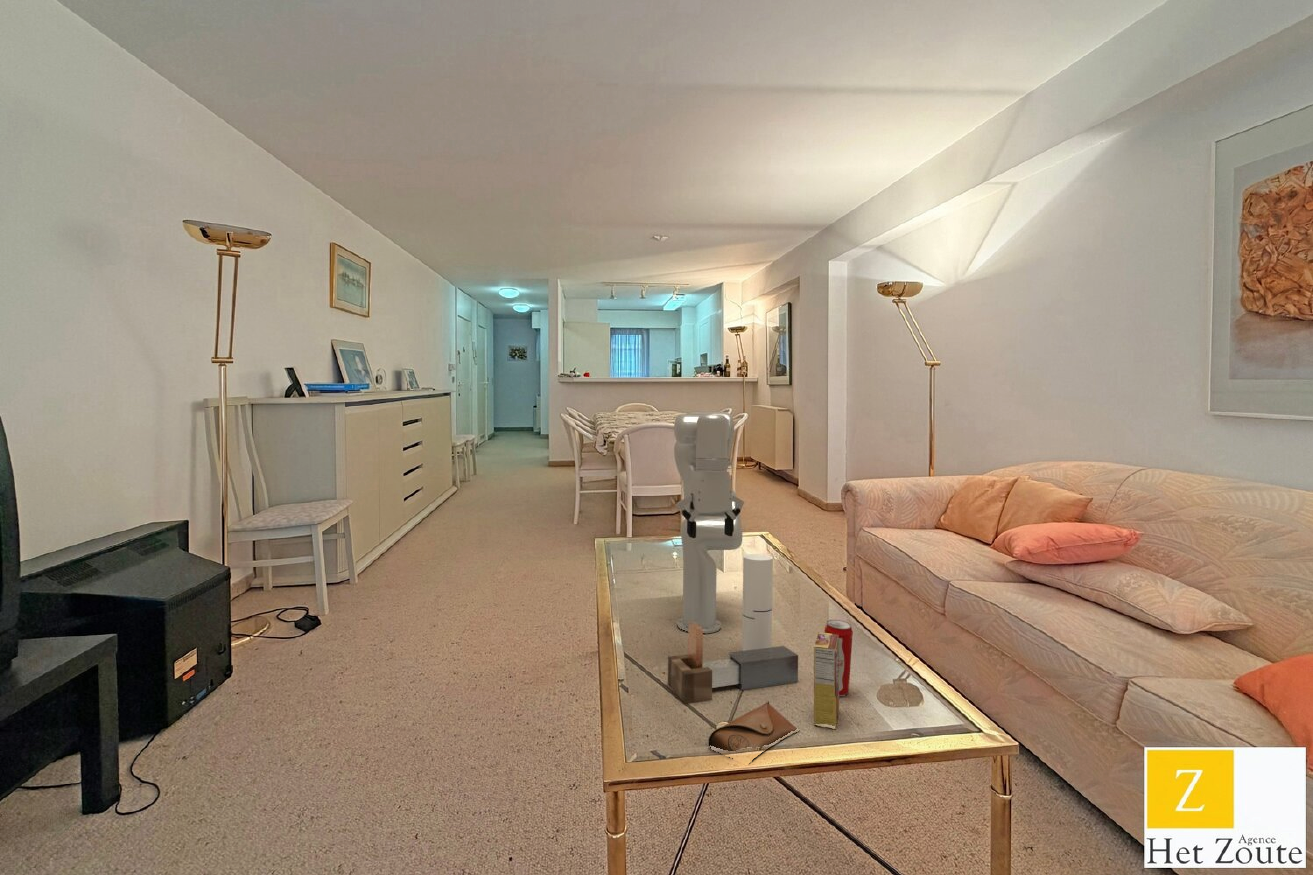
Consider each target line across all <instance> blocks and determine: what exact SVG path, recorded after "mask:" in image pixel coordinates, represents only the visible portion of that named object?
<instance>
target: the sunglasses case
mask: <svg viewBox="0 0 1313 875" xmlns="http://www.w3.org/2000/svg"><path fill="white" fill-rule="evenodd" d="M797 728H798V727H796V726H795V725H793V724H792V723H791V722H790V721H789V720H788V719H787V718H785V717H784V715H782V714H781V713H780V712H779V711H778V710H777V709H775V708H774V707H773V706H772V704H770V701H768V700H767V702H765V703H764V704H762V705H761V706H758V707H756V708H754V709H752V710H750V711H748V712H746V713H744V714H743V715H741V716H738V717H736V718H735V719H733V720H732V721H730V722H728V723H727V724H725V725H724V726H721V727H718V728H716V729H714V731H712V732H711V734H710V735H709V737H708V747H709V746H710V745H711V746H714V747H716V748H720V749H723V750H728V751H736V750H739V749H741V748H747V747H752V748H756V747H762V746H764V745H769V744H771V743H773V742H775V741H776V740H778V739H779V738H782V737H783V736H785V735H787V734H788V733H790V732H791V731H795V730H796V729H797Z"/></svg>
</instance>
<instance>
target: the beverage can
mask: <svg viewBox="0 0 1313 875" xmlns="http://www.w3.org/2000/svg"><path fill="white" fill-rule="evenodd" d="M823 633H830V634H837V635H838V646H839V696H842V697H845V695H846V694H847V695H848V694H849V691H850V680H851V679H850V677H851V676H850V675H851V664H852V651H853V650H852V649H853V633H854V632H853V629H852V625H851V623H850V622H847V621H845V620H841V619H829V620H827V621H826V624H825V627H824V631H823ZM847 695H846V696H847Z"/></svg>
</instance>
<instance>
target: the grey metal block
mask: <svg viewBox="0 0 1313 875" xmlns="http://www.w3.org/2000/svg"><path fill="white" fill-rule="evenodd" d="M733 658H734V659H735V660H736V661H737V662H739V663H740V664H741V684H735V686H736V687H737V688H739V689H740V690H741V691H746V690H753V689H754V690H755V689H759V688H767V687H773V686H774V687H775V686H780V685H787V684H794V683H798V682H799V681H798V680H799V654H798V653H796V652H794V651H792V650H791V649H789V648H788V647H786V646H784V645H782V646H781V645H779V646H774V647H771V648H763V649H755V650H747V651H742V650H740V651H731V652H729V658H728V659H733Z"/></svg>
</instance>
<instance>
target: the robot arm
mask: <svg viewBox="0 0 1313 875" xmlns="http://www.w3.org/2000/svg"><path fill="white" fill-rule="evenodd" d="M673 432H674V437H675V440H676V441H675V443H674V448H673V454H674V455H673V456H674V462H675V466H676V469H677V472H678V473H679V476H680V478H681V480H682V488H683V499H681V500H679V501H677V503H676V506H677V508H678V510H679V513H680V514H681V515H682V516H683V518H684V519H683V520H682V522H681V524H680V538H681V539H680V540H681V546H682V560H683V563H682V564H683V565H682V572H683V573H682V577H683V578H682V609H681V610H682V617H681V618H679V619H678V620H677V622H676V626H677V625H678V627H679V628H680V629H679V628H678V627H677V628H678V629H679V630H681V629H682V630H681V631H683V630H686V631H689V623H693V622H696V623H697V624H698V625H700V626H701V627H702V628H703V633H705V634H711V633H712V634H713V633H715V632H716V633H717V632H718V631H719V629H720V628H722V622H721V621H720V620H719V619H717V565H716V564H717V563H716V561H715V559H713V557H712V556H711V555H710V554H709V553H708V551H732V550H733V551H734V550H737V549H739V548H740V547H741V546H742V543H743V527H742V519H741V510H742V508H743V506H744V504H745V501H743V500H742V499H740V498H738V496H737V493H736V492H735V491H734V490H733V486H732V480H731V474H730V471H728V470H729V467H732V466H733V462H732V461H730V460H729V458H730V455H731V451H732V446H733V442H734V436H735V435H734V434H735V420H734V418H733V416H732V414H730V413H729V412H727V411H702V410H701V411H695V412H691V413H690V412H689V413H680V414H677V416H676V418H675V420H674V424H673ZM720 630H721V629H720ZM686 631H685V632H686Z"/></svg>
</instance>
